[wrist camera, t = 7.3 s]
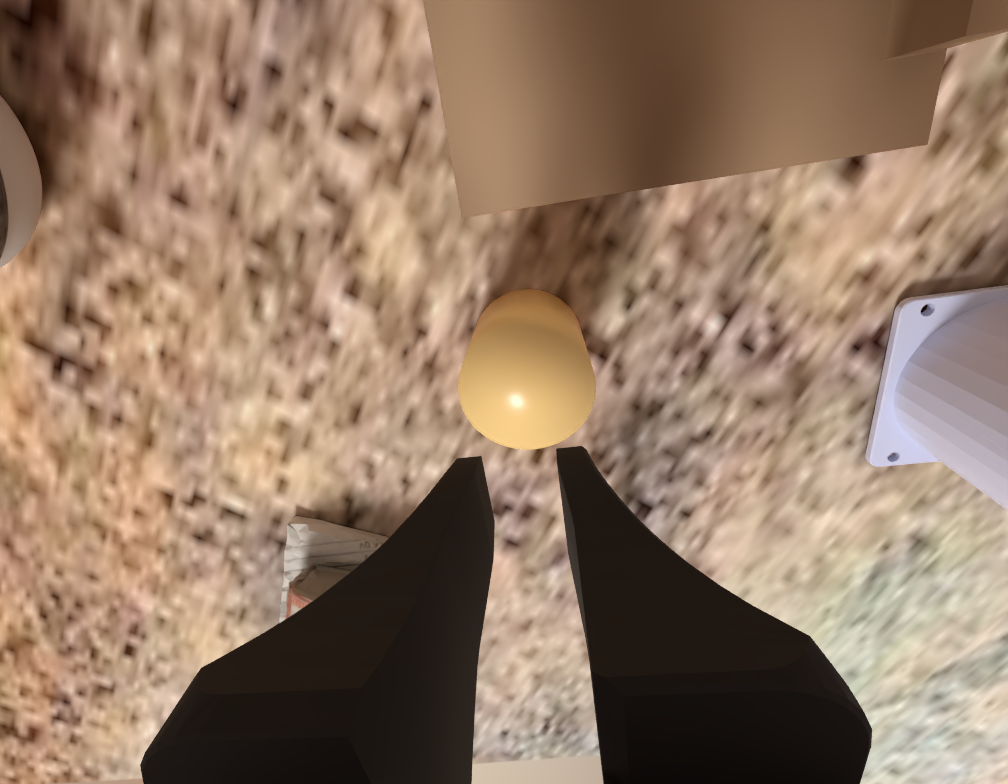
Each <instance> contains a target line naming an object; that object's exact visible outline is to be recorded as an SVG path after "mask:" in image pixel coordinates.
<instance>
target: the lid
mask: <svg viewBox="0 0 1008 784" xmlns="http://www.w3.org/2000/svg"><path fill="white" fill-rule="evenodd" d="M423 3H424V8H425V14H426V19H427V25H428V31H429V36H430V42H431V47H432V53H433V59H434V64H435V70H436V75H437V81H438V87H439V92H440V98H441V103H442V109H443V115H444V120H445V126H446V132H447V137H448V143H449V148H450V154H451V160H452V165H453V171H454V176H455V182H456V188H457V193H458V199H459V204H460V210H461V216H462V218H465V217H472V216H478V215H484V214H491V213H497V212H503V211H510V210H516V209H522V208H529V207H535V206H541V205H548V204H554V203H560V202H567V201H573V200H579V199H586V198H592V197H598V196H605V195H611V194H617V193H624V192H630V191H636V190H643V189H649V188H655V187H662V186H668V185H674V184H681V183H687V182H693V181H700V180H706V179H712V178H719V177H725V176H731V175H738V174H744V173H750V172H757V171H763V170H769V169H776V168H782V167H789V166H795V165H801V164H808V163H814V162H820V161H827V160H833V159H839V158H846V157H852V156H858V155H865V154H871V153H877V152H884V151H890V150H896V149H903V148H909V147H915V146H922V145H927V144H928V139H929V134H930V130H931V125H932V120H933V115H934V110H935V105H936V100H937V95H938V90H939V85H940V80H941V75H942V70H943V65H944V60H945V55H946V50H947V48H950V47H954V46H957V45H961V44H964V43H968V42H971V41H975V40H979V39H982V38H986V37H989V36H993V35H996V34H1000V33H1003V32H1007V31H1008V0H423Z"/></svg>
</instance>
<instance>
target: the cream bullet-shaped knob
mask: <svg viewBox="0 0 1008 784" xmlns="http://www.w3.org/2000/svg"><path fill="white" fill-rule="evenodd" d="M458 393H459V399H460V403H461V406H462V408H463V411H464V413H465V415H466V416H467V418H468V420H469V421H470V422H471V424H472V425H473V426H474V427H475V428H476V429H477V430H478V431H479V432H480V433H481V434H483V435H484V436H485V437H487V438H488V439H490V440H492V441H494V442H496V443H498V444H501V445H504V446H507V447H511V448H516V449H538V448H544V447H548V446H551V445H554V444H556V443H559V442H561V441H562V440H564V439H566V438H568V437H569V436H570V435H572V434H573V433H574V432H575V431H576V430H578V429H579V428H580V426H581V425H582V424H583V423H584V422H585V420H586V419H587V417H588V415H589V413H590V411H591V409H592V407H593V403H594V400H595V393H596V381H595V375H594V371H593V368H592V365H591V361H590V358H589V355H588V351H587V348H586V345H585V341H584V338H583V335H582V331H581V328H580V325H579V322H578V320H577V318H576V316H575V314H574V313H573V311H572V310H571V309H570V307H569V306H568V305H567V304H566V303H565V302H563V301H562V300H561V299H559V298H558V297H556V296H554V295H552V294H550V293H548V292H545V291H541V290H536V289H520V290H515V291H511V292H509V293H506V294H504V295H502V296H500V297H498V298H497V299H495V300H494V301H493V302H491V303H490V304H489V305H488V306H487V307H486V309H485V310H484V311H483V313H482V314H481V316H480V317H479V320H478V322H477V324H476V327H475V330H474V333H473V336H472V339H471V342H470V345H469V347H468V350H467V353H466V356H465V359H464V362H463V365H462V368H461V371H460V374H459V381H458Z"/></svg>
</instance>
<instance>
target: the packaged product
mask: <svg viewBox="0 0 1008 784" xmlns="http://www.w3.org/2000/svg"><path fill="white" fill-rule="evenodd" d="M287 529H288V532H287V543H286V547H285V556H284V578H283V588H282V597H281V607H280V620H279V623H280V622H282V621H284V620H285V619H287V618H288V617H290V616H291V615H293V614H295V613H296V612H297V611H299V610H300V609H302V608H303V607H305V606H306V605H308V604H309V603H311V602H312V601H314V600H315V599H316V598H318V597H319V596H320V595H322V594H323V593H324V592H326V591H327V590H328V589H330V588H331V587H332V586H333V585H335V584H336V583H337V582H339V581H340V580H341V579H343V578H344V577H345V576H346V575H348V574H349V573H350V572H352V571H353V570H354V569H355V568H357V567H358V566H359V565H360V564H361V563H362V562H364V561H365V560H366V559H367V558H368V557H369V556H370V555H371V554H373V553H374V552H375V551H376V550H377V549H378V548H379V547H380V546H381V545H382V544H383V543H384V542H385V541H387V540H388V539H389V538H390V537H386V536H382V535H378V534H374V533H370V532H366V531H361V530H357V529H353V528H349V527H345V526H341V525H337V524H333V523H330V522H326V521H323V520H318V519H312V518H306V517H300V516H295V517H294V518H293V519H292V520H291V521H290V522H289V523H288V525H287Z"/></svg>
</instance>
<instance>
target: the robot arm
mask: <svg viewBox="0 0 1008 784" xmlns="http://www.w3.org/2000/svg"><path fill="white" fill-rule="evenodd" d="M926 304H928V307H927V309H926V310H925V311H924V312H923V313H921V309H922V307H923V306H925V305H926ZM556 451H557V466H558V474H559V482H560V490H561V498H562V506H563V514H564V522H565V530H566V538H567V546H568V554H569V559H570V564H571V569H572V574H573V579H574V584H575V588H576V593H577V598H578V603H579V608H580V613H581V618H582V623H583V628H584V632H585V637H586V643H587V649H588V655H589V662H590V670H591V679H592V687H593V696H594V705H595V713H596V722H597V731H598V739H599V748H600V757H601V765H602V774H603V782H604V784H860V781H861V778H862V775H863V771H864V768H865V765H866V761H867V758H868V755H869V751H870V748H871V738H872V728H871V726H870V724H869V722H868V720H867V718H866V715H865V713H864V712H863V710H862V708H861V706H860V705H859V703H858V701H857V700H856V698H855V697H854V695H853V693H852V692H851V690H850V689H849V687H848V685H847V684H846V683H845V681H844V680H843V679H842V677H841V676H840V675H839V673H838V672H837V671H836V669H835V668H834V667H833V665H832V664H831V663H830V661H829V660H828V659H827V657H826V656H825V655H824V654H823V652H822V651H821V650H820V648H819V647H818V646H817V645H816V643H815V642H814V641H813V639H812V638H811V637H810V636H809V635H807V634H805V633H803V632H801V631H799V630H797V629H795V628H794V627H792V626H790V625H788V624H786V623H784V622H782V621H780V620H779V619H777V618H775V617H773V616H771V615H769V614H767V613H765V612H763V611H762V610H760V609H758V608H756V607H754V606H752V605H751V604H749V603H747V602H746V601H744V600H742V599H741V598H739V597H738V596H736V595H734V594H733V593H731V592H730V591H728V590H726V589H725V588H723V587H721V586H720V585H718V584H717V583H716V582H714V581H713V580H711V579H710V578H709V577H707V576H706V575H704V574H703V573H702V572H700V571H699V570H697V569H696V568H695V567H693V566H692V565H690V564H689V563H688V562H686V561H685V560H684V559H683V558H681V557H680V556H679V555H678V554H676V553H675V552H674V551H673V550H672V549H670V548H669V547H668V546H667V545H666V544H665V543H663V542H662V541H661V540H660V539H659V538H658V537H657V536H656V535H654V534H653V533H652V532H651V531H650V530H649V529H648V528H647V527H646V526H645V525H644V524H643V523H642V522H641V521H640V520H639V519H638V518H637V517H636V516H635V515H634V514H633V513H632V511H631V510H630V509H629V508H628V507H627V506H626V505H625V504H624V503H623V501H622V500H621V499H620V498H619V497H618V496H617V494H616V493H615V492H614V491H613V489H612V488H611V487H610V486H609V484H608V483H607V482H606V480H605V479H604V478H603V476H602V475H601V473H600V472H599V471H598V469H597V468H596V466H595V464H594V463H593V461H592V460H591V458H590V456H589V454H588V452H587V450H586V449H585V448H584V447H582V446H578V447H568V448H558V449H556ZM891 453H893V454H892V455H891V456H889V455H890V454H891ZM888 456H889V457H888ZM866 460H867V461H868V462H869V463H870V464H871V465H873V466H878V467H880V466H892V465H903V464H914V463H926V462H937V461H941V462H942V463H943V464H945V465H946V466H947V467H949V468H950V469H952V470H953V471H954V472H956V473H957V474H958V475H960V476H961V477H963V478H964V479H965V480H967V481H968V482H970V483H971V484H972V485H974V486H975V487H976V488H978V489H979V490H981V491H982V492H983V493H985V494H986V495H987V496H989V497H990V498H992V499H993V500H994V501H996V502H997V503H998V504H1000V505H1001V506H1003V507H1004V508H1005V509H1007V510H1008V285H1004V286H996V287H988V288H980V289H972V290H964V291H956V292H948V293H940V294H932V295H924V296H916V297H910V298H906V299H904V300H903V301H901V302H900V303H899V304H898V305H897V307H896V309H895V312H894V317H893V322H892V327H891V332H890V337H889V342H888V347H887V352H886V357H885V361H884V366H883V371H882V376H881V381H880V386H879V391H878V396H877V401H876V406H875V411H874V416H873V421H872V426H871V431H870V436H869V440H868V445H867V450H866ZM494 524H495V521H494V516H493V512H492V507H491V502H490V497H489V492H488V487H487V482H486V477H485V472H484V467H483V462H482V457H481V456H478V457H468V458H458V459H456V461H455V462H454V463H453V464H452V465H451V467H450V468H449V469H448V470H447V472H446V473H445V474H444V475H443V477H442V478H441V479H440V480H439V482H438V483H437V484H436V485H435V487H434V488H433V489H432V490H431V492H430V493H429V494H428V495H427V497H426V498H425V499H424V500H423V501H422V502H421V504H420V505H419V506H418V507H417V508H416V510H415V511H414V512H413V513H412V514H411V515H410V516H409V517H408V518H407V520H406V521H405V522H404V523H403V524H402V525H401V526H400V527H399V528H398V529H397V530H396V531H395V532H394V533H393V535H392V536H391V537H390V538H389V539H388V540H387V541H385V542H384V543H383V544H382V545H381V546H380V547H379V548H378V549H377V550H376V551H375V552H374V553H373V554H371V555H370V556H369V557H368V558H367V559H366V560H365V561H364V562H362V563H361V564H360V565H359V566H358V567H357V568H355V569H354V570H353V571H352V572H350V573H349V574H348V575H346V576H345V577H344V578H343V579H341V580H340V581H339V582H337V583H336V584H335V585H333V586H332V587H331V588H330V589H328V590H327V591H326V592H324V593H323V594H322V595H320V596H319V597H318V598H316V599H315V600H314V601H312V602H311V603H309V604H308V605H306V606H305V607H303V608H302V609H300V610H299V611H297V612H296V613H295V614H293V615H291V616H290V617H288V618H287V619H285V620H284V621H282V622H280V623H279V624H277V625H276V626H274V627H273V628H271V629H269V630H268V631H266V632H264V633H263V634H261V635H260V636H258V637H256V638H254V639H252V640H251V641H249V642H247V643H245V644H244V645H242V646H240V647H238V648H237V649H235V650H233V651H231V652H229V653H228V654H226V655H224V656H222V657H221V658H219V659H217V660H215V661H213V662H211V663H210V664H208V665H206V666H204V667H202V668H201V669H200V671H199V672H198V673H197V675H196V676H195V678H194V679H193V681H192V682H191V684H190V685H189V687H188V688H187V690H186V691H185V693H184V694H183V696H182V697H181V699H180V700H179V702H178V704H177V705H176V707H175V708H174V710H173V711H172V713H171V714H170V716H169V717H168V719H167V720H166V722H165V723H164V725H163V726H162V728H161V729H160V731H159V732H158V734H157V735H156V737H155V738H154V740H153V741H152V743H151V744H150V746H149V748H148V749H147V751H146V752H145V754H144V757H143V760H142V762H141V765H140V766H141V772H142V778H143V782H144V784H471V781H472V755H473V735H474V714H475V697H476V681H477V665H478V657H479V648H480V641H481V635H482V629H483V622H484V616H485V610H486V604H487V597H488V591H489V585H490V578H491V572H492V565H493V556H494Z"/></svg>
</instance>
